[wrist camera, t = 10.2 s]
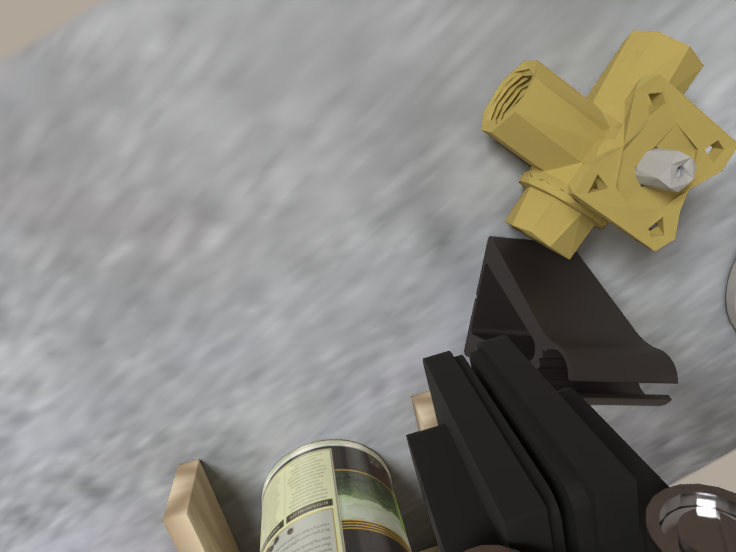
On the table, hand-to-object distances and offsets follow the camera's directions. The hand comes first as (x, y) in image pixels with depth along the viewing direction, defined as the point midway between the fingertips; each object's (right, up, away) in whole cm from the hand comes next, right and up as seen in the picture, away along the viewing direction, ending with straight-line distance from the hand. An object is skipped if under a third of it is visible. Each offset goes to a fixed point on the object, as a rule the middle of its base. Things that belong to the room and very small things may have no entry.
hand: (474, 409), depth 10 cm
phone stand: (+8, +1, +25) cm, 27 cm away
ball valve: (+10, +12, +22) cm, 27 cm away
